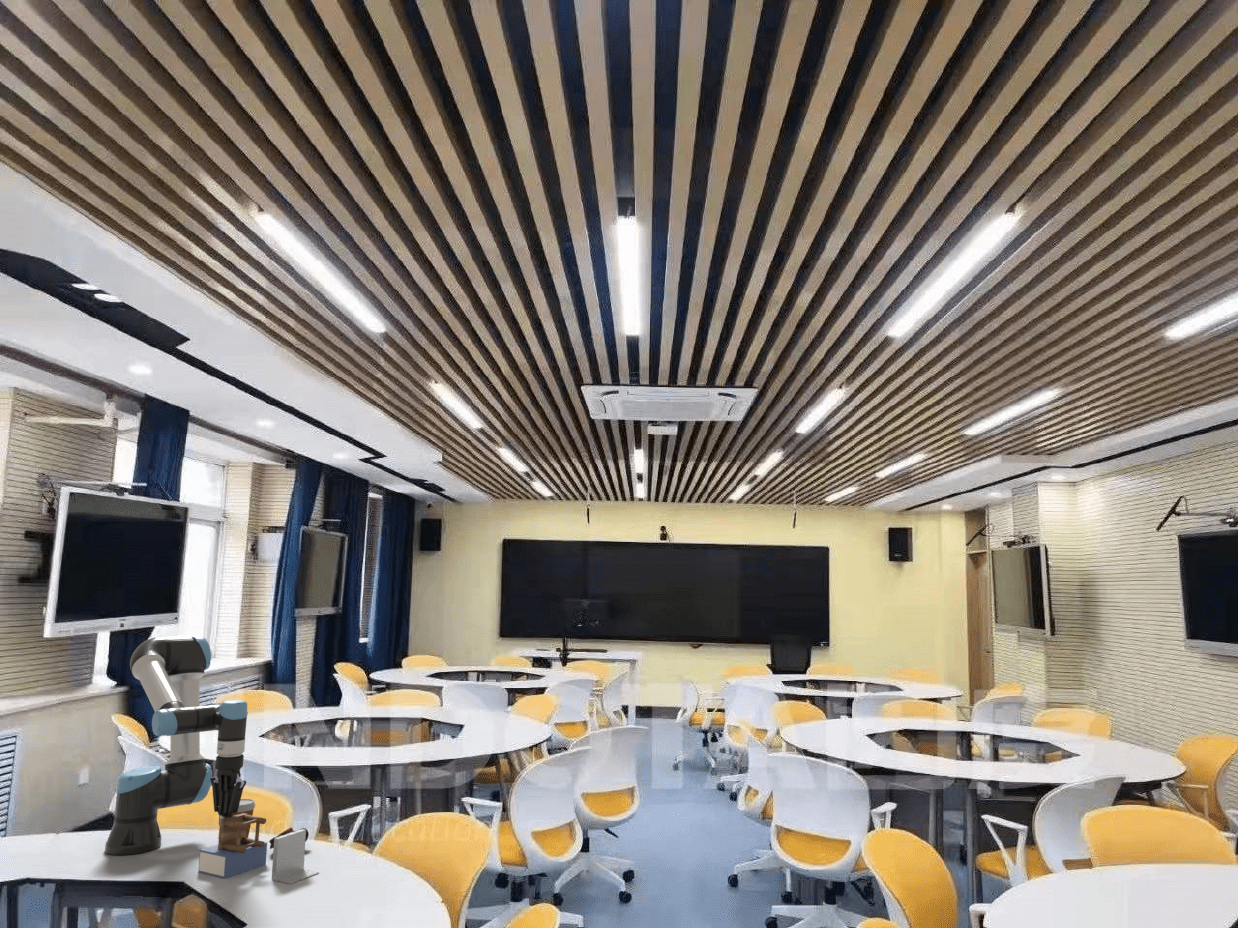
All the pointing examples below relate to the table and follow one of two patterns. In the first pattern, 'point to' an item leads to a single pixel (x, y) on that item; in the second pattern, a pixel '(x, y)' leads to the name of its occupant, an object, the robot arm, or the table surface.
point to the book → (230, 860)
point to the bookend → (290, 858)
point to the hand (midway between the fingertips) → (223, 837)
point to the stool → (239, 832)
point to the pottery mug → (285, 834)
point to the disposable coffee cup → (246, 810)
